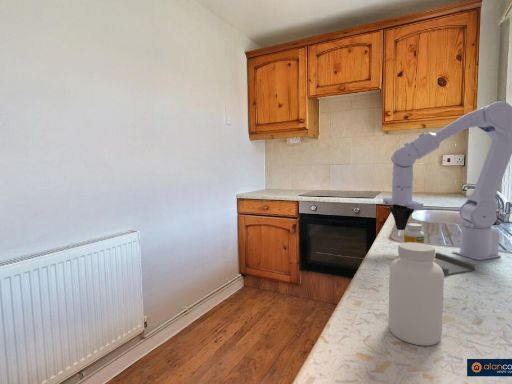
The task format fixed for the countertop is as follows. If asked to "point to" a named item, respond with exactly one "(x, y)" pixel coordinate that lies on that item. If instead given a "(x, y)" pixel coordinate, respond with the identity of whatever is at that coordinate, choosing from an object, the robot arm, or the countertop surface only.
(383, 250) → the countertop surface
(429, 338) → the pill bottle
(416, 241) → the supplement bottle
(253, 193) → the countertop surface
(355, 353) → the countertop surface
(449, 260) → the stand
